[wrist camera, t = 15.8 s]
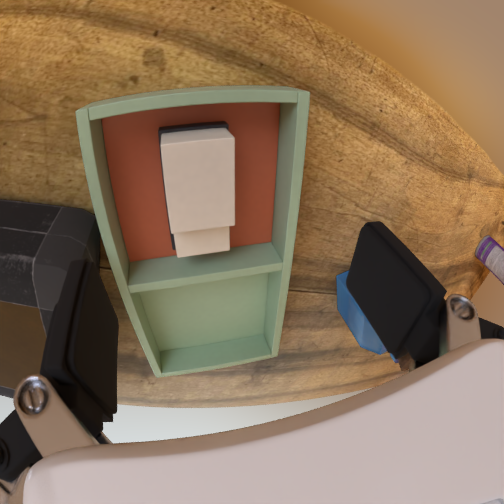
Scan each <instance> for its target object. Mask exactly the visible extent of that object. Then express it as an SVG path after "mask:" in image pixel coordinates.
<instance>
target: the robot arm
mask: <svg viewBox="0 0 504 504" xmlns="http://www.w3.org/2000/svg"><path fill="white" fill-rule="evenodd" d="M346 286H347V289H348V291H349V292H350V294H351V295H352V297H353V298H354V300H355V301H356V303H357V304H358V306H359V307H360V309H361V310H362V312H363V313H364V315H365V316H366V318H367V320H368V321H369V323H370V324H371V326H372V327H373V329H374V330H375V332H376V334H377V335H378V337H379V338H380V340H381V342H382V343H383V345H384V346H385V348H386V350H387V351H388V352H389V353H391V354H392V355H393V356H394V358H395V360H396V359H399V358H401V357H403V356H405V355H406V354H407V353H409V354H410V364H409V372H408V373H406V374H404V375H402V376H400V377H398V378H396V379H393V380H391V381H389V382H386V383H384V384H382V385H379V386H377V387H375V388H372V389H370V390H367V391H365V392H362V393H360V394H357V395H354V396H352V397H349V398H346V399H344V400H341V401H338V402H335V403H332V404H329V405H326V406H323V407H320V408H317V409H314V410H311V411H308V412H304V413H301V414H297V415H294V416H290V417H287V418H283V419H279V420H276V421H271V422H267V423H264V424H259V425H254V426H250V427H245V428H241V429H236V430H230V431H225V432H219V433H213V434H207V435H200V436H193V437H185V438H177V439H168V440H160V441H159V440H158V441H148V442H131V443H116V444H113V443H112V442H111V441H110V440H109V439H108V438H107V437H106V436H105V434H104V433H103V432H102V430H103V422H113V414H115V413H116V412H117V347H118V328H119V325H118V319H117V316H116V314H115V311H114V309H113V307H112V305H111V302H110V300H109V297H108V295H107V293H106V290H105V288H104V285H103V283H102V280H101V277H100V275H99V272H98V269H97V267H96V264H95V263H94V262H90V260H89V259H88V258H85V259H78V260H72V261H71V263H70V265H69V268H68V271H67V275H66V278H65V281H64V284H63V287H62V291H61V294H60V298H59V301H58V303H57V304H56V305H55V307H54V310H53V313H52V317H51V321H50V325H49V329H48V333H47V338H46V342H45V347H44V352H43V357H42V362H41V368H40V374H31V375H28V376H26V377H25V378H23V379H22V380H21V381H20V382H19V383H18V385H17V387H16V389H15V392H14V396H13V398H14V406H15V410H14V411H13V412H12V413H11V414H10V415H9V416H8V417H7V418H6V419H5V420H4V421H3V422H2V423H1V424H0V504H504V328H503V327H502V326H499V325H497V324H494V323H491V322H489V321H487V320H484V319H482V318H479V317H478V313H477V310H476V308H475V306H474V304H473V303H472V302H471V301H470V300H469V299H468V298H466V297H465V296H462V295H460V294H451V295H450V296H448V298H447V299H446V300H445V299H444V298H443V297H444V296H445V294H446V292H447V291H446V290H445V288H444V287H443V286H442V285H441V284H440V283H439V281H438V280H437V279H436V278H435V277H434V276H433V275H432V274H431V272H430V271H429V270H428V269H427V268H426V267H425V266H424V265H423V264H422V263H421V262H420V261H419V259H418V258H417V257H416V256H415V255H414V254H413V253H412V252H411V251H410V250H409V249H408V248H407V247H406V246H405V245H404V244H403V243H402V242H401V241H400V240H399V239H398V238H397V237H396V236H395V235H394V234H393V233H392V232H391V231H390V230H389V229H388V228H387V227H386V226H385V225H384V224H383V223H382V222H380V221H376V222H367V223H366V224H365V225H364V227H362V228H361V231H360V234H359V238H358V242H357V245H356V249H355V252H354V256H353V259H352V262H351V266H350V269H349V272H348V276H347V279H346Z"/></svg>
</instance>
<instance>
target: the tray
mask: <svg viewBox="0 0 504 504" xmlns="http://www.w3.org/2000/svg"><path fill="white" fill-rule="evenodd" d="M309 102H310V92H308V91H305V90H300V89H296V88H292V87H288V86H260V85H235V86H208V87H192V88H181V89H171V90H162V91H154V92H147V93H140V94H134V95H128V96H122V97H117V98H111V99H106V100H102V101H97V102H93V103H90V104H88V105H86V106H84V107H82V108H80V109H78V110H77V111H76V120H77V127H78V134H79V140H80V146H81V152H82V158H83V163H84V168H85V173H86V178H87V182H88V187H89V191H90V195H91V200H92V204H93V208H94V212H95V216H96V219H97V223H98V227H99V230H100V234H101V237H102V241H103V244H104V247H105V250H106V254H107V257H108V260H109V263H110V266H111V269H112V272H113V275H114V278H115V281H116V283H117V286H118V289H119V292H120V295H121V297H122V300H123V302H124V305H125V308H126V310H127V313H128V315H129V318H130V320H131V323H132V325H133V327H134V330H135V332H136V335H137V337H138V339H139V342H140V344H141V346H142V348H143V350H144V353H145V355H146V357H147V359H148V361H149V363H150V366H151V368H152V370H153V372H154V374H155V376H156V378H158V377H167V376H174V375H181V374H188V373H195V372H201V371H207V370H213V369H218V368H224V367H229V366H234V365H240V364H244V363H249V362H254V361H259V360H263V359H268V358H271V357H276V356H278V350H279V344H280V338H281V332H282V326H283V320H284V314H285V307H286V301H287V294H288V288H289V281H290V274H291V267H292V260H293V252H294V245H295V237H296V229H297V221H298V213H299V205H300V196H301V187H302V178H303V168H304V159H305V148H306V138H307V126H308V115H309ZM217 121H225V122H227V123H228V125H229V132H230V133H231V134H232V135H233V137H234V138H235V225H234V226H230V250H229V251H222V252H215V253H208V254H201V255H194V256H187V257H180V258H178V257H177V253H176V250H173V249H172V243H171V236H170V230H169V223H168V216H167V209H166V202H165V194H164V186H163V177H162V168H161V159H160V148H159V137H158V129H159V127H164V126H173V125H182V124H192V123H203V122H217Z"/></svg>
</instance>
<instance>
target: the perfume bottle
mask: <svg viewBox="0 0 504 504" xmlns="http://www.w3.org/2000/svg"><path fill="white" fill-rule="evenodd" d="M348 272H349V271H346V272H344V273H342V274H339V275H337V276H336V277H337V309H338V311H339V313H340V314H341V316H342V317H343V319H344V321H345V322H346V324H347V325H348V327H349V329H350V330H351V332H352V334H353V335H354V337H355V339H356V340H357V342H358V343H359V345H360V347H362V348H365V349H367V350H370V351H372V352H375V353H377V354H380V355H381V354H383V353H384V352H386V351H387V350H386V348H385V346H384V345H383V343H382V342H381V340H380V338H379V337H378V335H377V334H376V332H375V330H374V329H373V327H372V326H371V324H370V323H369V321H368V320H367V318H366V316H365V315H364V313H363V312H362V310H361V309H360V307H359V306H358V304H357V303H356V301H355V300H354V298H353V297H352V295H351V294H350V292H349V291H348V289H347V286H346V279H347V276H348ZM390 356H391V357H392V359H393V361H394V362H395V363H399V365H400V368H401V370H402V371H405V370H408V369H409V364H410V354H409V353H407V354H406V355H405V356H403V357H401V358H399V359H396V360H395V358H394V356H393V355H392V354H391V353H390Z"/></svg>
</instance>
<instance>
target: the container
mask: <svg viewBox="0 0 504 504" xmlns="http://www.w3.org/2000/svg"><path fill="white" fill-rule="evenodd" d="M475 256H476V257H477V258H478V259H479V260H480V261H481V262H482V263H483V264H484V265H485V266H486V267H487V268H488V269H489V270H490V271H491V272H492V273H493V274H494V275H495V276H496V277H497V278H498V279H499V280H500V281H501V282H502V284H503V285H504V248H502V247H501V246H500V245H499V244H498V243H497V242H496V241H495V240H494V239H492V238H491V237H490V236H489V235H487V236H485V237H484V238H483V239H482V240H481V242H480V243H479V245H478V247H477V249H476V252H475Z"/></svg>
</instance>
